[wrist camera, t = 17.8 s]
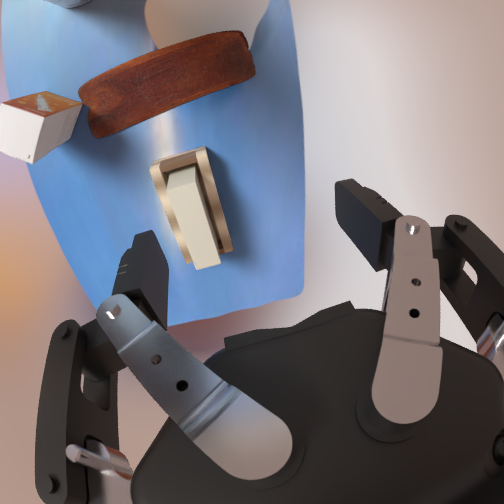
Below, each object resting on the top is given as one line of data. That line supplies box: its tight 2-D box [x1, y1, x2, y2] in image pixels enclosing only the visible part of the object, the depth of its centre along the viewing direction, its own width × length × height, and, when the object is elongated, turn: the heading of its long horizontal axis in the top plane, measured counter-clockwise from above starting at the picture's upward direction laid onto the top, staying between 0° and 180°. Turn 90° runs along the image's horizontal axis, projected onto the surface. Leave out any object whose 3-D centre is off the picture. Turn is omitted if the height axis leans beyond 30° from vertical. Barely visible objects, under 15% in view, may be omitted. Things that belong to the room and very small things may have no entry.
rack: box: [149, 146, 234, 264], centre depth 45 cm, size 18×9×4 cm, turn 11°
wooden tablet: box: [78, 30, 255, 138], centre depth 33 cm, size 27×10×2 cm, turn 104°
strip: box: [166, 163, 221, 270], centre depth 42 cm, size 14×4×8 cm, turn 11°
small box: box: [0, 91, 83, 164], centre depth 26 cm, size 8×6×13 cm
